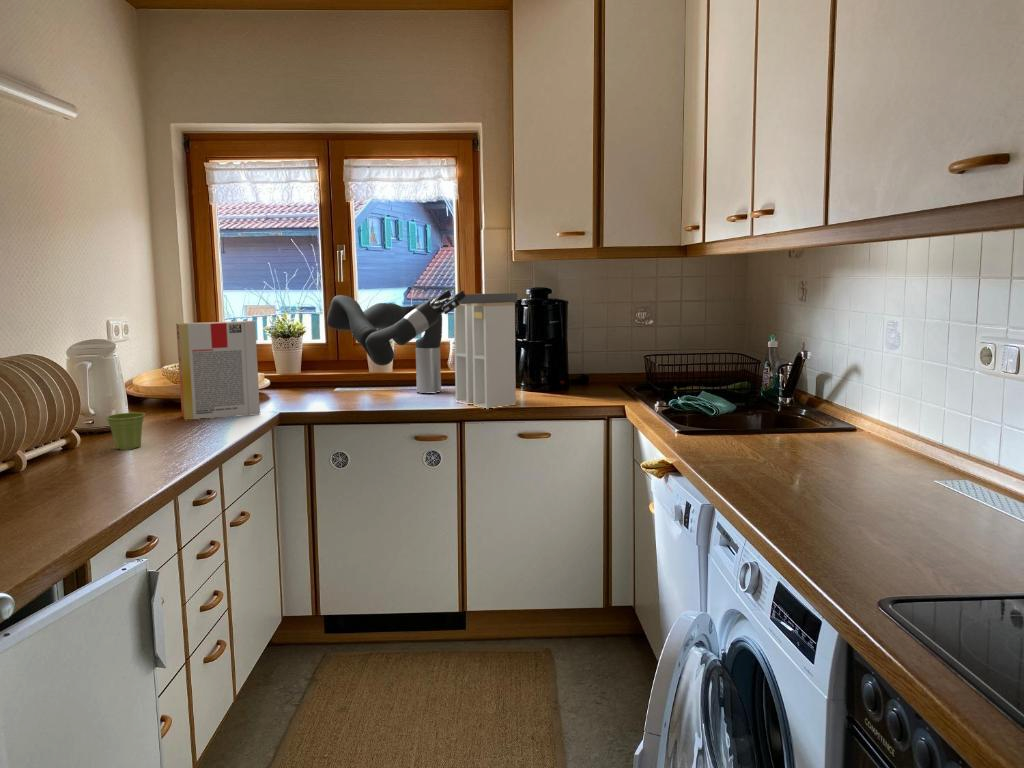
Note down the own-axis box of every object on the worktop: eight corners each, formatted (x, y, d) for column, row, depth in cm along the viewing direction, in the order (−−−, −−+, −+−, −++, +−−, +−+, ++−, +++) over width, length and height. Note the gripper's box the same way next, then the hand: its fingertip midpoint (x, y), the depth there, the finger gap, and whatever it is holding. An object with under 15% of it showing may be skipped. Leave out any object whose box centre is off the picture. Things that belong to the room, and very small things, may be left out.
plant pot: (107, 453, 212) (104, 419, 211) (109, 446, 221) (106, 414, 219) (147, 449, 216) (145, 416, 215) (147, 443, 224) (145, 411, 223)
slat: (512, 301, 283) (511, 292, 283) (517, 301, 281) (517, 293, 280) (455, 303, 269) (455, 294, 269) (460, 303, 267) (460, 294, 267)
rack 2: (501, 402, 288) (500, 301, 283) (515, 405, 282) (514, 302, 277) (472, 406, 281) (470, 302, 276) (486, 409, 274) (484, 303, 270)
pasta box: (255, 410, 276) (250, 320, 272) (259, 414, 269) (255, 322, 265) (182, 416, 266) (176, 323, 262) (184, 420, 259) (178, 324, 255)
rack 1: (483, 399, 297) (482, 301, 292) (496, 401, 290) (495, 301, 286) (455, 402, 290) (453, 302, 285) (468, 405, 283) (466, 302, 279)
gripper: (426, 310, 253) (463, 283, 260) (403, 309, 264) (440, 282, 272) (436, 331, 256) (474, 303, 263) (413, 328, 267) (450, 302, 275)
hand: (456, 293), depth 268 cm, fingers open, 8 cm apart
